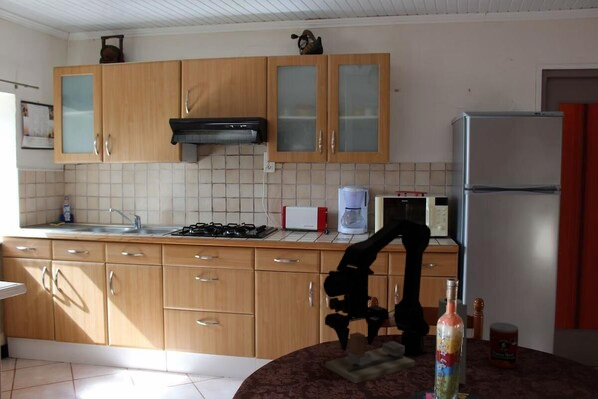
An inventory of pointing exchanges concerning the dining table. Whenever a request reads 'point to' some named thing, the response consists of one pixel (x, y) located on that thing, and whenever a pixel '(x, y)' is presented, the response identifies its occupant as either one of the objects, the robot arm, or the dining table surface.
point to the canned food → (503, 345)
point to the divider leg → (358, 350)
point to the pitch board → (373, 363)
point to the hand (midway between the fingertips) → (357, 347)
